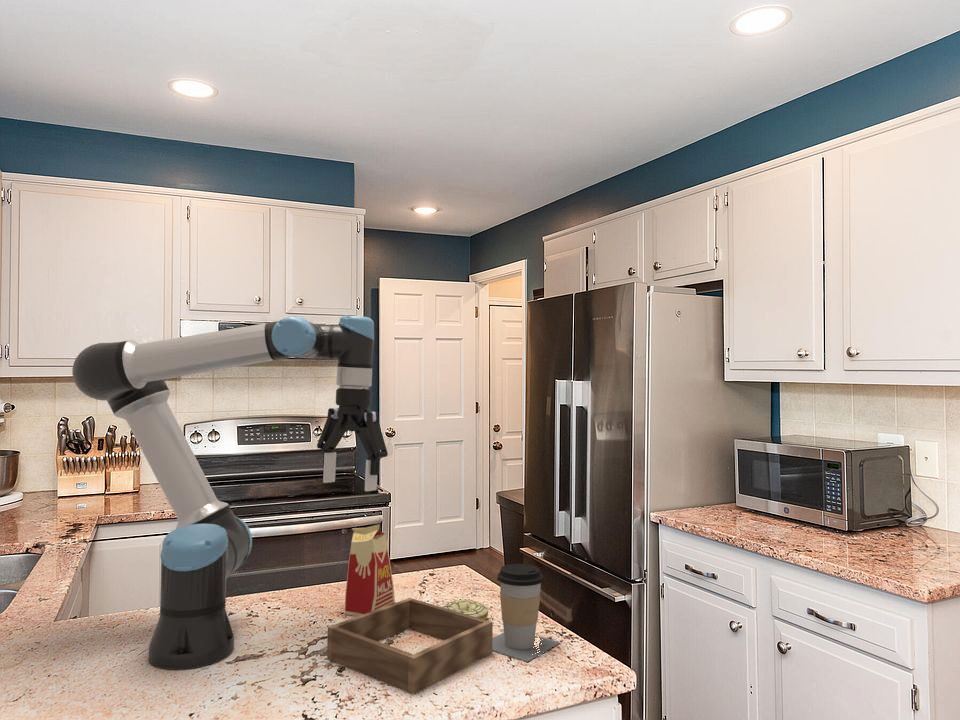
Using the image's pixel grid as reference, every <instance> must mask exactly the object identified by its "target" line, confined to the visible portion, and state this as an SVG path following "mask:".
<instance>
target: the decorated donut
mask: <svg viewBox="0 0 960 720" xmlns="http://www.w3.org/2000/svg"><path fill="white" fill-rule="evenodd" d="M442 607H443V608H446V609H449V610H453V611H456V612H460V613H463V614H467V615H470V616H473V617H477V618H480V619H484V620H487V619H488V616H489V608H488V607H487V606H486V605H485V604H484V603H482V602H478V601H476V600H472V599H456V600H452V601H450V602H447V603H446V604H445V605H443V606H442Z"/></svg>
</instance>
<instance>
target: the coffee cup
mask: <svg viewBox="0 0 960 720" xmlns="http://www.w3.org/2000/svg"><path fill="white" fill-rule="evenodd" d="M496 576H497V577H496V580H497V581H498V582H499V590H500V592H499V598H500V609H501V620H502V625H503V633H504V639H505V645H506V646H507V647H510V648H513V649H518V650H524V649H529V648H531V647H533V645H534V641H535V635H536V631H537V623H538V620H539V611H540V602H541V588H542V587H541V586H542V583H543V582H544V576H543V574H542V573H541V571H540V568H539V567H538V566H536V565H532V564H526V563H510V564H505V565H502V567H500V571H499V572H498V573H497V575H496Z"/></svg>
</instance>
